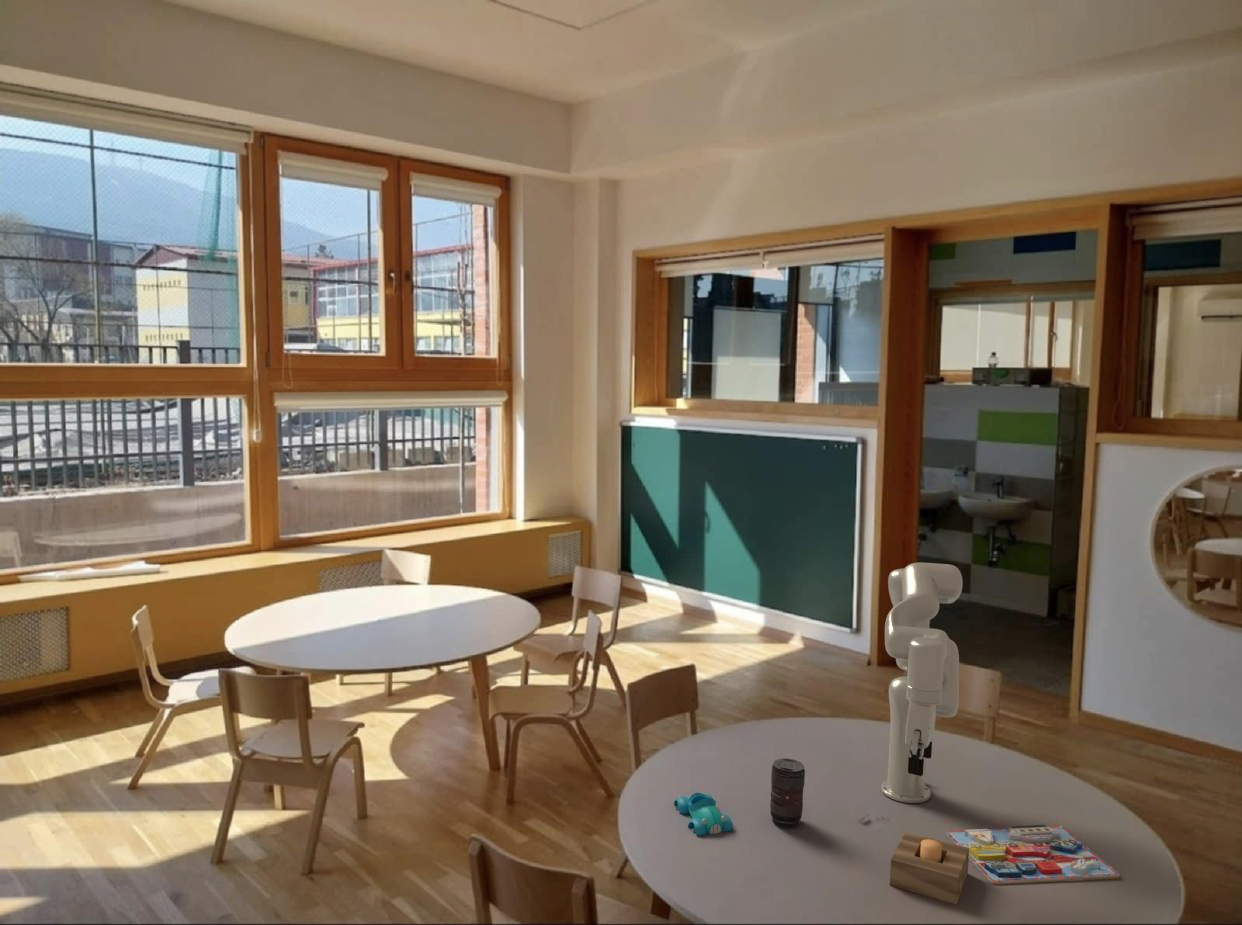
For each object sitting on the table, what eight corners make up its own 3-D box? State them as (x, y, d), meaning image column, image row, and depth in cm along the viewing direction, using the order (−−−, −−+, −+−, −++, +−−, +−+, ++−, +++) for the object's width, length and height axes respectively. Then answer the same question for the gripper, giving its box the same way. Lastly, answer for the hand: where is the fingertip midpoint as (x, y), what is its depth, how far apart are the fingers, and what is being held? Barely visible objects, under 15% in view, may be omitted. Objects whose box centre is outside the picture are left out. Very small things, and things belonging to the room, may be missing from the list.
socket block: (904, 856, 215) (905, 831, 214) (967, 873, 208) (969, 848, 208) (889, 885, 203) (891, 859, 202) (956, 904, 196) (958, 877, 195)
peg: (921, 871, 209) (923, 837, 208) (941, 876, 207) (943, 842, 206) (916, 880, 205) (918, 846, 204) (937, 886, 203) (939, 851, 202)
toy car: (694, 838, 222) (695, 812, 221) (669, 804, 239) (669, 779, 238) (736, 832, 225) (737, 806, 224) (708, 799, 242) (709, 774, 241)
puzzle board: (1061, 829, 230) (1061, 819, 230) (1120, 881, 207) (1121, 870, 207) (944, 834, 227) (944, 824, 226) (991, 887, 204) (992, 876, 204)
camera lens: (802, 831, 225) (805, 772, 224) (768, 828, 227) (771, 769, 225) (802, 816, 233) (805, 759, 232) (770, 812, 235) (772, 755, 233)
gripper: (914, 677, 216) (910, 747, 219) (898, 703, 201) (894, 777, 204) (948, 683, 213) (943, 754, 215) (934, 710, 198) (929, 785, 200)
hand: (919, 765), depth 209 cm, fingers open, 9 cm apart
